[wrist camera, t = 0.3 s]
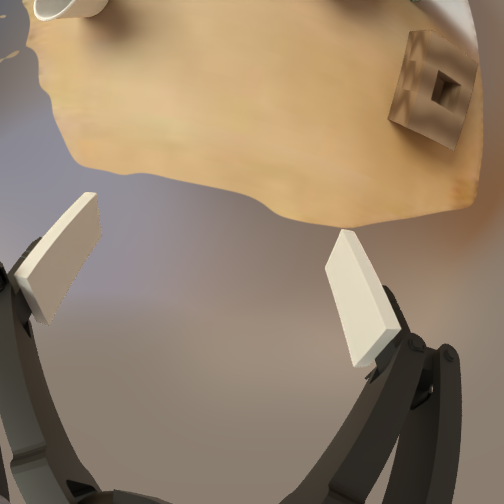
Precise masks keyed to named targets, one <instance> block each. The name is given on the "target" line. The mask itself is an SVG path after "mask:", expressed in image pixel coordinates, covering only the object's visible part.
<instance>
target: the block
mask: <svg viewBox="0 0 504 504" xmlns="http://www.w3.org/2000/svg"><path fill="white" fill-rule="evenodd" d="M477 67H478V63H476V62H475V61H474V60H473V59H471V58H470V57H469V56H468V55H466V54H465V53H464V52H463V51H461V50H460V49H459V48H457V47H456V46H454V45H453V44H452V43H450V42H449V41H447V40H446V39H445V38H443V37H442V36H440V35H439V34H437V33H436V32H434V31H432V30H424V31H412V32H410V33H409V38H408V43H407V47H406V52H405V56H404V61H403V65H402V69H401V73H400V77H399V81H398V84H397V88H396V92H395V95H394V99H393V102H392V106H391V109H390V113H389V116H388V119H389V120H391V121H394V122H396V123H398V124H400V125H402V126H404V127H406V128H409V129H411V130H413V131H415V132H417V133H419V134H422V135H424V136H426V137H428V138H430V139H432V140H434V141H436V142H438V143H440V144H441V145H443V146H445V147H447V148H449V149H451V150H453V151H454V150H455V147H456V144H457V141H458V138H459V135H460V132H461V129H462V126H463V123H464V120H465V116H466V113H467V109H468V106H469V102H470V98H471V94H472V90H473V86H474V82H475V77H476V72H477Z"/></svg>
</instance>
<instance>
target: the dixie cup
mask: <svg viewBox="0 0 504 504" xmlns="http://www.w3.org/2000/svg"><path fill="white" fill-rule="evenodd" d="M108 1H109V0H35V2H34V13H35V15H36V17H37V18H38V19H39V20H41V21H50V20H53V19H61V18H80V17H92V16H95V15H96V14H98V13H99V12H101V11H102V10H103V9H104V7H105V6H106V5H107V3H108Z"/></svg>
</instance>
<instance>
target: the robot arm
mask: <svg viewBox="0 0 504 504" xmlns="http://www.w3.org/2000/svg"><path fill="white" fill-rule="evenodd" d="M100 238H101V227H100V219H99V211H98V201H97V193H90V192H85V193H84V194H83V195H82V196H81V197H80V198H79V199H78V200H77V201H76V202H75V203H74V204H73V205H72V206H71V207H70V208H69V209H68V210H67V211H66V212H65V213H64V214H63V215H62V216H61V217H60V219H59V220H58V221H57V222H56V223H55V224H54V225H53V226H52V228H51V229H50V230H49V231H48V232H47V233H46V234H45V236H44V237H39V238H38V239H37V240H35V241H34V242H32V243H31V245H30V246H29V247H28V248H27V250H26V251H25V252H24V253H23V254H22V256H21V257H20V258H19V259H18V261H17V262H16V264H15V265H14V266H13V267H12V269H11V270H10V271H9V273H8V274H6V271H5V269H4V267H3V264H2V263H1V262H0V414H1V418H2V422H3V425H4V429H5V432H6V435H7V438H8V441H9V444H10V447H11V449H12V453H13V460H12V461H11V463H10V468H11V471H12V474H13V477H14V479H15V481H16V484H17V486H18V488H19V490H20V492H21V494H22V496H23V498H24V500H25V502H26V504H172V503H169V502H166V501H164V500H161V499H159V498H155V497H150V496H146V495H142V494H137V493H133V492H127V491H121V490H115V489H114V491H103V492H102V491H101V489H100V488H99V486H98V485H97V483H96V481H95V480H94V478H93V477H92V475H91V474H90V473H89V471H88V470H87V469H86V468H85V467H84V466H83V465H82V463H81V462H80V460H79V459H78V457H77V455H76V453H75V451H74V449H73V447H72V445H71V443H70V441H69V439H68V437H67V434H66V432H65V430H64V428H63V425H62V423H61V421H60V418H59V416H58V413H57V411H56V409H55V406H54V403H53V401H52V398H51V395H50V393H49V389H48V386H47V383H46V380H45V377H44V374H43V370H42V367H41V363H40V360H39V356H38V352H37V348H36V344H35V340H34V335H33V330H32V326H31V322H30V320H29V317H30V315H31V313H32V314H33V316H34V317H35V319H36V321H37V322H39V323H42V324H45V325H48V326H49V325H50V323H51V321H52V319H53V317H54V315H55V313H56V311H57V309H58V308H59V306H60V304H61V302H62V300H63V298H64V296H65V295H66V293H67V291H68V289H69V288H70V286H71V284H72V282H73V281H74V279H75V277H76V276H77V274H78V272H79V271H80V269H81V267H82V266H83V264H84V262H85V261H86V259H87V258H88V256H89V255H90V253H91V251H92V250H93V248H94V247H95V245H96V244H97V242H98V241H99V239H100ZM325 270H326V273H327V276H328V280H329V282H330V286H331V289H332V292H333V296H334V299H335V302H336V305H337V309H338V312H339V316H340V319H341V323H342V326H343V329H344V333H345V337H346V340H347V344H348V348H349V352H350V356H351V359H352V363H353V367H368V366H369V365H370V364H371V363H372V362H373V361H374V360H375V361H376V365H377V366H376V367H375V368H374V369H373V370H372V372H370V373H369V374H368V375H367V376H366V378H365V379H368V378H369V379H368V381H367V383H366V385H365V387H364V389H363V390H362V392H361V394H360V396H359V398H358V399H357V401H356V403H355V405H354V406H353V408H352V410H351V412H350V413H349V415H348V417H347V418H346V420H345V422H344V423H343V425H342V426H341V428H340V430H339V431H338V433H337V434H336V436H335V437H334V439H333V440H332V442H331V443H330V445H329V446H328V448H327V449H326V451H325V452H324V453H323V455H322V456H321V458H320V459H319V460H318V462H317V463H316V465H315V466H314V467H313V469H312V470H311V471H310V472H309V474H308V475H307V476H306V478H305V479H304V480H303V481H302V483H301V484H300V485H299V486H298V488H297V489H296V490H295V491H293V492H292V493H291V494H289V495H288V496H287V497H285V498H284V499H283V500H282V501H281V502H280V503H279V504H365V500H366V498H367V496H368V494H369V493H370V491H371V489H372V488H373V486H374V484H375V482H376V481H377V479H378V477H379V475H380V473H381V471H382V470H383V468H384V466H385V464H386V462H387V460H388V458H389V456H390V453H391V452H392V449H393V447H394V445H395V443H396V440H397V438H398V436H399V440H398V445H397V450H396V455H395V459H394V463H393V467H392V471H391V475H390V479H389V482H388V485H387V489H386V493H385V495H384V499H383V502H382V504H452V499H453V494H454V489H455V483H456V477H457V470H458V463H459V454H460V453H459V452H460V442H461V422H462V395H461V373H460V360H459V356H458V354H457V352H456V350H455V349H454V348H453V347H452V346H451V345H449V344H442V345H441V346H440V347H439V348H438V349H437V350H435V349H432V348H429V347H426V344H425V342H424V341H423V339H422V338H421V337H420V336H418V335H416V334H414V333H411V332H410V329H409V327H408V325H407V322H406V320H405V318H404V316H403V314H402V311H401V310H400V307H399V305H398V304H397V301H396V299H395V297H394V295H393V293H392V292H391V291H390V290H389V288H388V287H387V286H384V285H381V283H380V281H379V279H378V277H377V275H376V273H375V271H374V269H373V267H372V265H371V263H370V261H369V259H368V257H367V255H366V253H365V251H364V249H363V247H362V245H361V244H360V242H359V240H358V238H357V236H356V235H355V233H354V231H349V230H343V229H342V230H341V232H340V235H339V237H338V239H337V241H336V244H335V246H334V248H333V251H332V253H331V255H330V257H329V260H328V262H327V264H326V266H325ZM432 387H433V392H432ZM399 434H400V435H399ZM0 504H10V500H9V491H8V484H7V479H6V474H5V469H4V464H3V459H2V454H1V448H0Z"/></svg>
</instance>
